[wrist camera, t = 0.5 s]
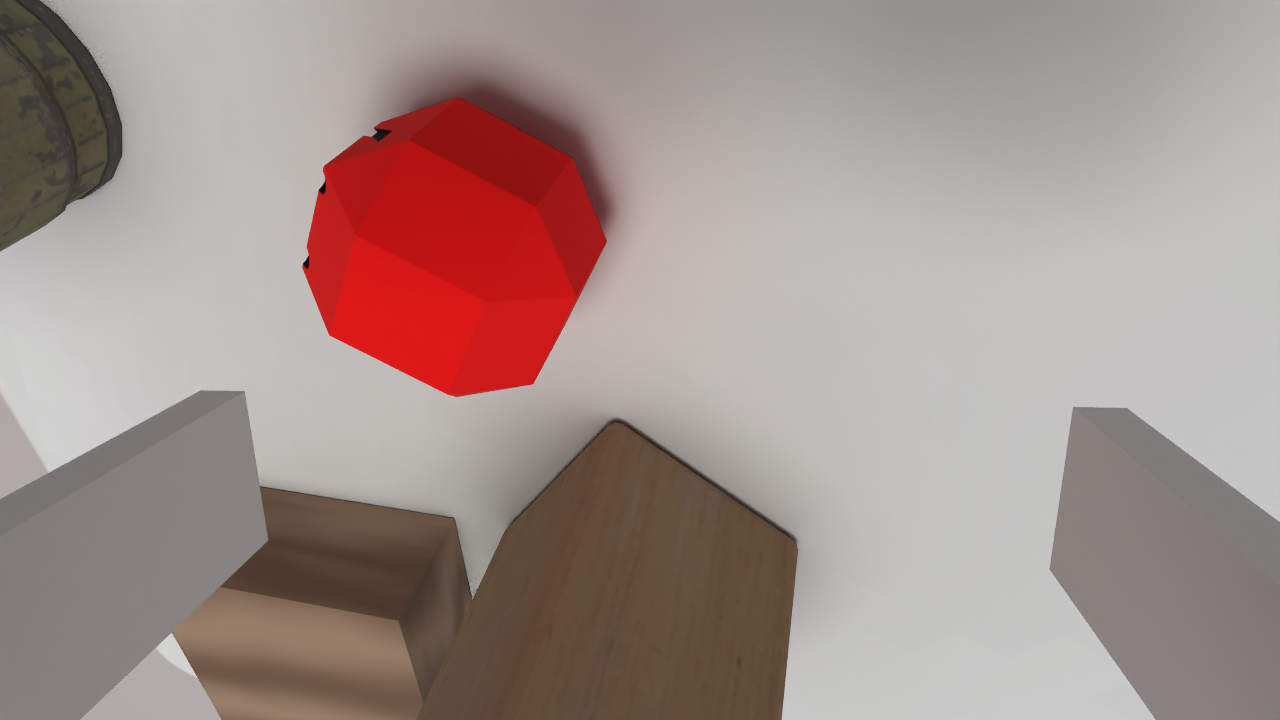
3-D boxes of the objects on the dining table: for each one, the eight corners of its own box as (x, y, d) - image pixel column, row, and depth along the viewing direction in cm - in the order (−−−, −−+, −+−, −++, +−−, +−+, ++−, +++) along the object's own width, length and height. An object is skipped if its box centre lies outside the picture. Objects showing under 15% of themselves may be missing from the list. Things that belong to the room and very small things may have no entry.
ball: (425, 43, 27) (294, 130, 21) (647, 163, 27) (582, 281, 21) (373, 235, 32) (254, 351, 26) (561, 332, 32) (490, 467, 26)
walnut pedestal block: (217, 480, 43) (136, 570, 38) (454, 518, 40) (398, 621, 36) (286, 635, 50) (225, 726, 46) (488, 675, 48) (446, 776, 43)
